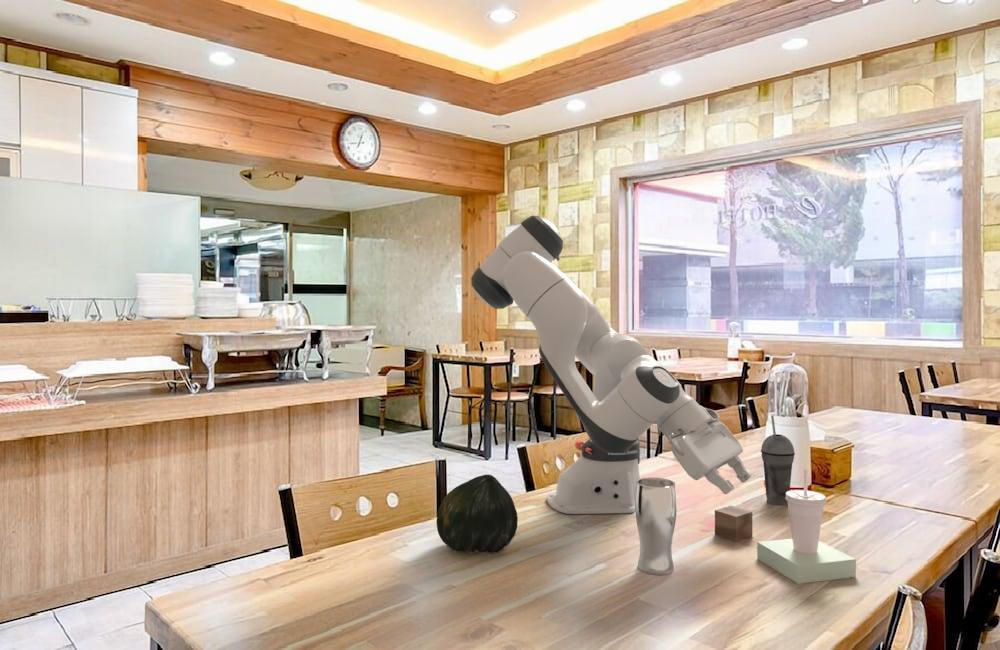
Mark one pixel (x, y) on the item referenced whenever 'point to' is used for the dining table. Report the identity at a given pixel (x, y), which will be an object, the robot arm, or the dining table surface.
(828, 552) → the pedestal
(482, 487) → the squash
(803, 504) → the smoothie
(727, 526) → the brick
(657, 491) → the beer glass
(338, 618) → the dining table surface
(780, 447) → the beverage cup
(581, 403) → the robot arm
